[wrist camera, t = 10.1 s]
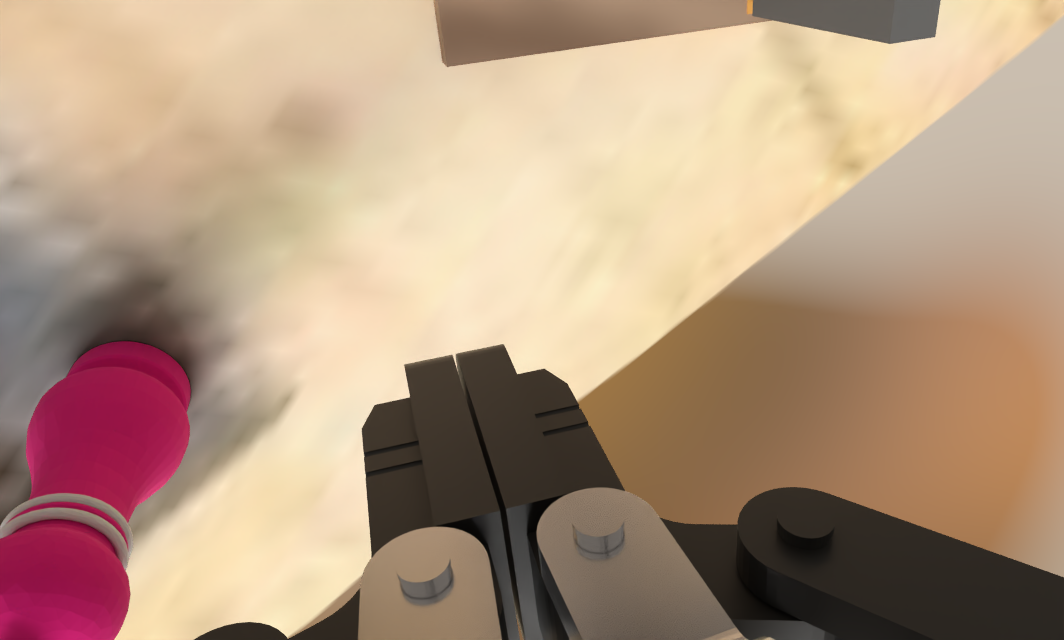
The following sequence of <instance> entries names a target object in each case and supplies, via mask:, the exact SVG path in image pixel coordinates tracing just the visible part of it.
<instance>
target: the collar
mask: <svg viewBox="0 0 1064 640" xmlns="http://www.w3.org/2000/svg"><path fill="white" fill-rule="evenodd" d="M939 7H940V0H753V11H752V16H754V17H759V18H764V19H769V20H774V21H779V22H784V23H789V24H794V25H799V26H804V27H809V28H814V29H819V30H824V31H829V32H834V33H839V34H844V35H849V36H854V37H858V38H863V39H868V40H873V41H878V42H883V43H888V44H892V43H898V42H905V41H912V40H918V39H925V38H931V37H935V34H936V27H937V20H938V13H939Z"/></svg>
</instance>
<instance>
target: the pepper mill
mask: <svg viewBox="0 0 1064 640" xmlns="http://www.w3.org/2000/svg"><path fill="white" fill-rule="evenodd" d="M190 396H191V390H190V384H189V380H188V378H187V375H186V374H185V372H184V370H183V369H182V367H181V366H180V365H179V364H178V363H177V362H176V361H175V360H174V359H173V358H172V357H171V356H170V355H168V354H166V353H165V352H163V351H161V350H159V349H157V348H155V347H153V346H150V345H147V344H142V343H138V342H132V341H120V342H111V343H107V344H103V345H100V346H97V347H95V348H93V349H91V350H89V351H88V352H86V353H85V354H83V355H82V356H81V357H80V358H79V359H78V360H77V361H76V362H75V363H74V364H73V366H72V368H71V369H70V371H69V373H68V375H67V376H66V378H64V379H63V380H61V381H59V382H58V383H57V384H55V385H54V386H53V387H52V388H51V389H49V390H48V391H47V392H46V394H45V395H44V396H43V397H42V398H41V400H40V402H39V403H38V405H37V407H36V409H35V411H34V414H33V416H32V418H31V421H30V424H29V427H28V431H27V444H26V456H27V461H28V465H29V469H30V473H31V480H32V492H31V495H30V498H29V501H26V502H24V503H22V504H21V505H19V506H18V507H16V508H15V509H14V510H12V511H11V512H10V513H9V514H8V515H7V517H6V518H5V519H4V521H3V522H2V524H1V526H0V640H114V639H115V637H116V636H117V634H118V633H119V631H120V629H121V627H122V625H123V622H124V620H125V617H126V614H127V612H128V606H129V600H130V587H129V580H128V576H127V573H126V568H127V565H128V560H129V557H130V555H131V552H132V548H133V535H132V531H131V528H130V526H129V524H128V522H129V519H130V517H131V515H132V513H133V511H134V509H135V507H136V506H137V505H138V504H140V503H142V502H143V501H145V500H146V499H147V498H149V497H150V496H151V495H152V494H154V493H155V492H156V491H157V490H159V489H160V488H161V487H162V486H164V485H165V483H166V482H167V481H168V480H169V479H170V478H171V476H172V475H173V474H174V473H175V471H176V470H177V468H178V467H179V465H180V463H181V461H182V458H183V456H184V454H185V451H186V448H187V446H188V442H189V436H190V425H189V421H188V416H187V409H188V406H189V402H190Z"/></svg>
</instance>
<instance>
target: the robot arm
mask: <svg viewBox="0 0 1064 640" xmlns="http://www.w3.org/2000/svg"><path fill="white" fill-rule="evenodd" d="M456 362H457V368H456V365H455V362H454V358H453V356H452V355H449V356H444V357H439V358H434V359H429V360H424V361H420V362H415V363H410V364H405V365H404V366H405V371H406V377H407V382H408V387H409V393H410V398H406V399H401V400H396V401H392V402H387V403H382V404H377V405H375V406H374V407H373V409H372V411H371V413H370V415H369V417H368V418H367V420H366V422H365V424H364V426H363V428H362V437H363V449H364V456H365V457H364V462H365V473H366V487H367V500H368V513H369V526H370V538H371V551H372V557H371V559H370V561H369V562H368V564H367V566H366V567H365V569H364V572H363V575H362V578H361V584H360V589H359V590H358V591H357V592H356V594H355V595H354V596H353V597H352V598H351V600H349V601H348V602H347V603H346V604H345V605H344V606H343V607H342V608H340V609H339V610H338V611H336V612H335V613H334V614H333V615H331V616H329V617H327V618H326V619H324V620H323V621H321V622H319V623H317V624H315V625H314V626H312V627H310V628H308V629H306V630H304V631H302V632H300V633H299V634H297V635H295V636H293V637H291V638H289V639H287V637H286V636H285V635H284V634H283V633H282V632H280V631H279V630H278V629H276V628H274V627H272V626H270V625H266V624H262V623H253V622H245V623H236V624H231V625H226V626H223V627H220V628H217V629H214V630H212V631H210V632H207V633H205V634H203V635H201V636H199V637H198V638H196V639H194V640H520V639H519V632H518V625H517V619H516V615H517V618H518V622H519V626H520V629H521V633H522V636H523V640H1064V577H1061V576H1058V575H1055V574H1053V573H1050V572H1047V571H1044V570H1041V569H1039V568H1035V567H1033V566H1030V565H1027V564H1025V563H1022V562H1019V561H1016V560H1013V559H1010V558H1007V557H1005V556H1002V555H999V554H996V553H993V552H990V551H988V550H985V549H982V548H980V547H977V546H974V545H971V544H968V543H966V542H963V541H960V540H957V539H954V538H952V537H949V536H946V535H943V534H940V533H937V532H935V531H932V530H929V529H926V528H923V527H921V526H917V525H915V524H912V523H909V522H907V521H904V520H901V519H898V518H895V517H892V516H890V515H887V514H884V513H881V512H879V511H876V510H873V509H870V508H867V507H864V506H862V505H859V504H856V503H853V502H850V501H847V500H845V499H842V498H839V497H836V496H834V495H831V494H828V493H825V492H821V491H818V490H813V489H808V488H797V487H790V488H789V487H788V488H778V489H773V490H769V491H766V492H763V493H761V494H759V495H757V496H755V497H754V498H752V499H751V500H750V501H748V503H747V504H746V505H745V506H744V507H743V509H742V511H741V512H740V515H739V518H738V525H714V524H712V525H711V524H710V525H709V524H706V525H705V524H684V523H678V522H672V521H669V520H665V519H662V518H660V517H659V516H658V515H657V513H656V512H655V511H654V510H653V508H652V507H651V506H650V505H649V504H648V503H647V502H645V501H644V500H643V499H641V498H639V497H638V496H636V495H634V494H631V493H628V492H626V491H625V490H624V488H623V486H622V484H621V482H620V481H619V479H618V477H617V475H616V473H615V471H614V469H613V467H612V466H611V464H610V462H609V460H608V458H607V456H606V454H605V453H604V451H603V449H602V447H601V445H600V444H599V442H598V440H597V438H596V436H595V434H594V432H593V430H592V428H591V427H590V426H589V425H588V421H587V419H586V417H585V415H584V414H583V412H582V410H581V409H579V404H578V403H577V401H576V399H575V397H574V395H573V393H572V391H571V390H570V388H569V386H568V384H567V383H565V382H564V381H562V380H561V379H559V378H558V377H556V376H555V375H553V374H552V373H550V372H549V371H547V370H545V369H541V370H536V371H531V372H527V373H522V374H517V373H516V371H515V368H514V366H513V364H512V362H511V359H510V357H509V355H508V352H507V350H506V348H505V346H504V345H503V344H501V345H497V346H492V347H487V348H482V349H477V350H472V351H467V352H462V353H458V354H456ZM457 369H458V371H457ZM515 611H516V612H515Z"/></svg>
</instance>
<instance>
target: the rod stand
mask: <svg viewBox="0 0 1064 640" xmlns="http://www.w3.org/2000/svg"><path fill="white" fill-rule="evenodd" d="M434 7H435V14H436V20H437V27H438V34H439V41H440V48H441V55H442V61H443V63H444V64H445V65H446V66H447V67H449V66H456V65H463V64H470V63H477V62H484V61H491V60H498V59H505V58H512V57H519V56H526V55H533V54H540V53H547V52H554V51H561V50H568V49H575V48H582V47H589V46H596V45H603V44H610V43H617V42H625V41H632V40H639V39H646V38H653V37H660V36H667V35H674V34H681V33H688V32H695V31H702V30H709V29H716V28H723V27H730V26H737V25H744V24H751V23H758V22H765V21H772V20H769V19H764V18H759V17H754V16H752V11H753V0H434Z"/></svg>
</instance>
